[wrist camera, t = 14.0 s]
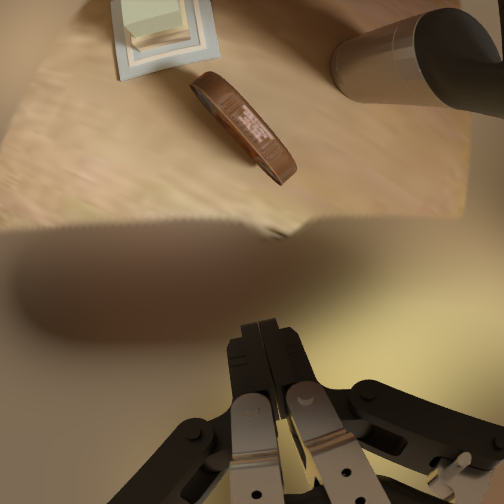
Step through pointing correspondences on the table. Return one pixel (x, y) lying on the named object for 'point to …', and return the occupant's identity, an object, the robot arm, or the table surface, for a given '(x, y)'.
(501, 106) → the robot arm
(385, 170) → the table surface
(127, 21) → the sage block
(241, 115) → the tin
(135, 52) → the light grey flat piece
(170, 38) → the maple block
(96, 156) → the table surface
